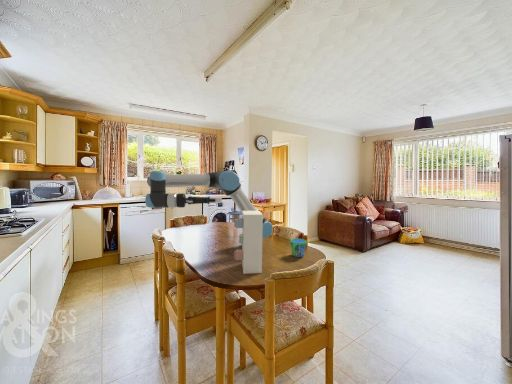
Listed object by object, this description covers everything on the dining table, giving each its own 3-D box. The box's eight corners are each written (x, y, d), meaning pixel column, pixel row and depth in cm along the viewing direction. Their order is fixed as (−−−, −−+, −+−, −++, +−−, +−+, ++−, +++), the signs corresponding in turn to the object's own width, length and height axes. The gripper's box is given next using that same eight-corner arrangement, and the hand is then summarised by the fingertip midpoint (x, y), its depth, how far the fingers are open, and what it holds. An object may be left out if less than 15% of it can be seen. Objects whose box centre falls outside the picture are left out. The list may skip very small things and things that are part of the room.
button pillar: (258, 262, 135) (259, 210, 133) (261, 272, 122) (262, 214, 119) (242, 263, 134) (242, 210, 132) (243, 273, 120) (244, 214, 118)
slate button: (242, 226, 128) (242, 218, 128) (243, 227, 123) (243, 220, 123) (234, 226, 127) (234, 218, 127) (234, 228, 123) (234, 220, 123)
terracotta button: (242, 256, 129) (242, 249, 129) (243, 259, 125) (243, 252, 124) (234, 257, 129) (234, 249, 128) (234, 260, 124) (234, 252, 124)
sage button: (247, 241, 129) (247, 234, 128) (247, 243, 124) (247, 236, 124) (238, 241, 128) (238, 234, 128) (239, 244, 124) (239, 236, 124)
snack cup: (299, 260, 140) (299, 245, 139) (284, 256, 146) (285, 241, 146) (310, 254, 152) (311, 239, 151) (296, 250, 158) (297, 236, 158)
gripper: (180, 205, 127) (222, 205, 130) (174, 209, 114) (221, 208, 117) (179, 192, 126) (222, 192, 129) (174, 194, 113) (221, 194, 116)
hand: (221, 200), depth 123 cm, fingers closed
